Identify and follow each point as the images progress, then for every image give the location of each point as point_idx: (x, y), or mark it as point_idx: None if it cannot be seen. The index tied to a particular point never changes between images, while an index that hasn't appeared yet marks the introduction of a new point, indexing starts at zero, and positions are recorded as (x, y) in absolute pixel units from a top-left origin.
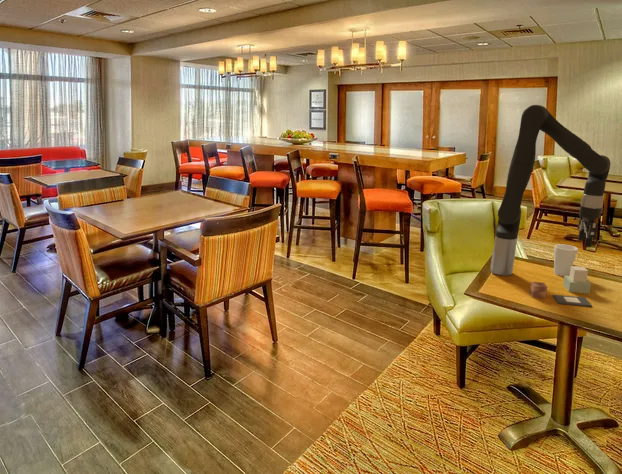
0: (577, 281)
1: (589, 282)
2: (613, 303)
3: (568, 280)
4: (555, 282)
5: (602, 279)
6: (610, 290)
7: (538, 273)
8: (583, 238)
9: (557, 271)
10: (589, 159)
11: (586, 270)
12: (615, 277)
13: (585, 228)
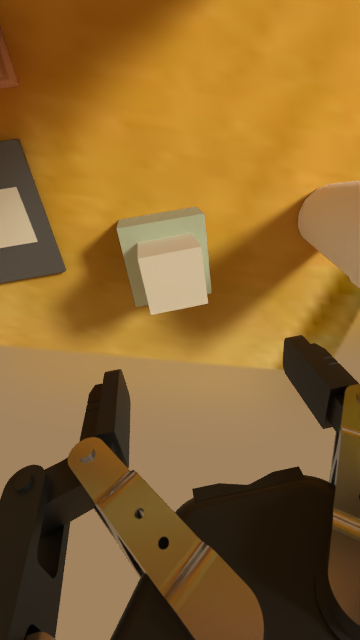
0: None
1: None
2: (75, 345)
3: (142, 223)
4: (211, 176)
5: None
6: (193, 349)
7: (317, 102)
8: (294, 379)
9: (317, 195)
10: None
11: (152, 308)
12: None
13: (124, 538)
